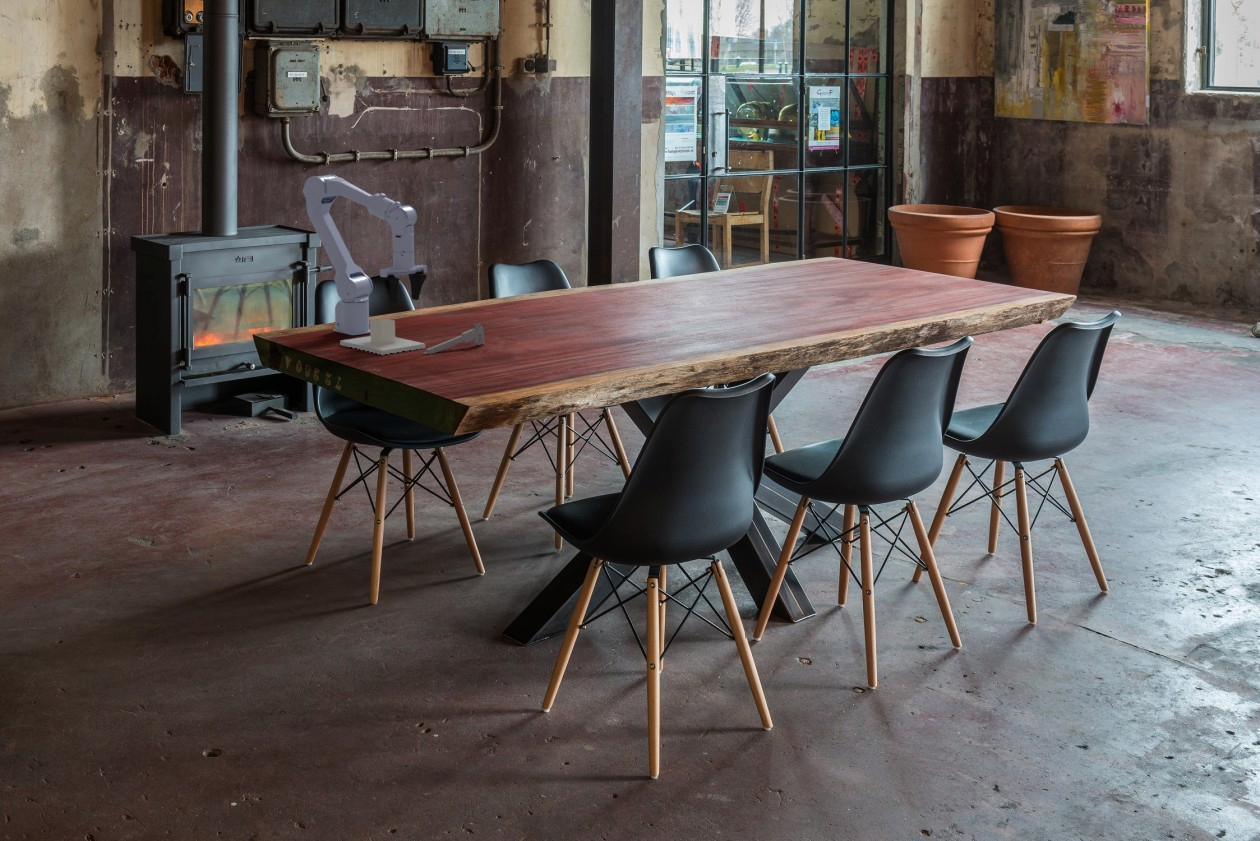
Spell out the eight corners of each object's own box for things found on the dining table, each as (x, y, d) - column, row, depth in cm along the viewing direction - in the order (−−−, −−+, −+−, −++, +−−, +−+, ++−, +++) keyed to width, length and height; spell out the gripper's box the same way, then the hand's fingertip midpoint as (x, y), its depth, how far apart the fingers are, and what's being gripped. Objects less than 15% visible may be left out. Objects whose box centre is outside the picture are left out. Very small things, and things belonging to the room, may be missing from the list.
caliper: (481, 345, 376) (481, 322, 374) (484, 345, 375) (484, 322, 374) (422, 355, 361) (422, 331, 360) (425, 355, 360) (425, 331, 359)
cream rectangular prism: (370, 342, 369) (369, 320, 368) (384, 339, 372) (384, 318, 371) (381, 344, 366) (380, 322, 365) (395, 342, 369) (394, 320, 368)
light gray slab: (340, 345, 370) (339, 324, 369) (382, 338, 380) (382, 318, 379) (382, 355, 359) (381, 334, 357) (425, 348, 369) (424, 327, 367)
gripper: (391, 254, 370) (392, 305, 373) (433, 250, 380) (434, 300, 384) (374, 252, 374) (375, 302, 378) (417, 247, 385) (418, 296, 388)
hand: (404, 301), depth 381 cm, fingers open, 7 cm apart
